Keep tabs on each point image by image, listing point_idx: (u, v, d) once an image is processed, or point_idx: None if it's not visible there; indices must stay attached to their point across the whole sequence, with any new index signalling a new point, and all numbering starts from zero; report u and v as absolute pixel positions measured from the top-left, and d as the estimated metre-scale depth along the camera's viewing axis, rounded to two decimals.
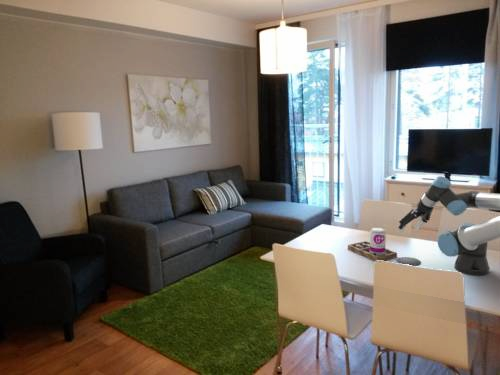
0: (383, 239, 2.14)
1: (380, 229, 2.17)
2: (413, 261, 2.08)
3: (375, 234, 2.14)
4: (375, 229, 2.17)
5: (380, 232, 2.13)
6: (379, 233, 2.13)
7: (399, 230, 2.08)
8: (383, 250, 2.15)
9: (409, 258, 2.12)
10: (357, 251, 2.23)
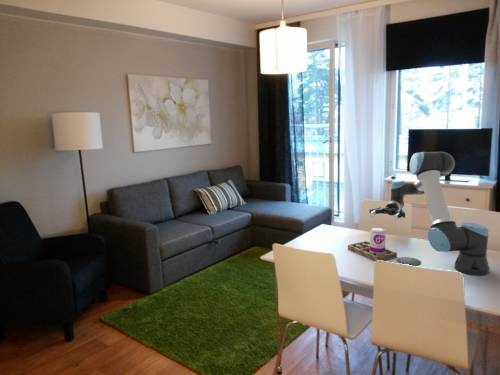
0: (383, 239, 2.14)
1: (380, 229, 2.17)
2: (413, 261, 2.08)
3: (375, 234, 2.14)
4: (375, 229, 2.17)
5: (380, 232, 2.13)
6: (379, 233, 2.13)
7: None
8: (383, 250, 2.15)
9: (409, 258, 2.12)
10: (357, 251, 2.23)
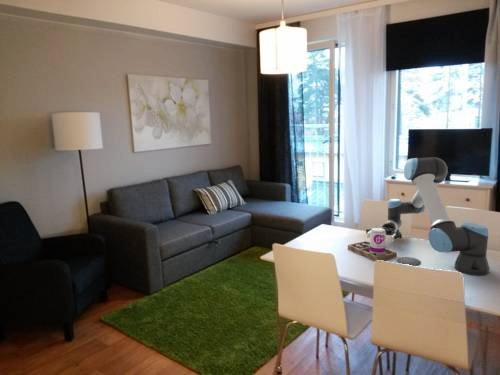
0: (383, 239, 2.14)
1: (380, 229, 2.17)
2: (413, 261, 2.08)
3: (375, 234, 2.14)
4: (375, 229, 2.17)
5: (380, 232, 2.13)
6: (379, 233, 2.13)
7: None
8: (383, 250, 2.15)
9: (409, 258, 2.12)
10: (357, 251, 2.23)
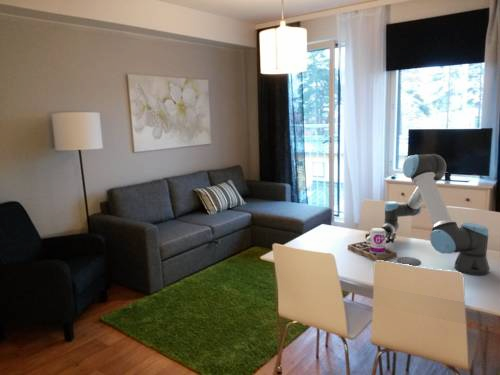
0: (383, 239, 2.14)
1: (380, 229, 2.17)
2: (413, 261, 2.08)
3: (375, 234, 2.14)
4: (375, 229, 2.17)
5: (380, 232, 2.13)
6: (379, 233, 2.13)
7: None
8: (383, 250, 2.15)
9: (409, 258, 2.12)
10: (357, 251, 2.23)
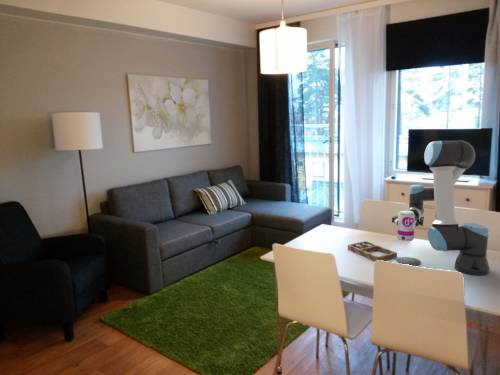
0: (412, 222, 2.03)
1: (408, 211, 2.06)
2: (413, 261, 2.08)
3: (404, 216, 2.02)
4: (403, 211, 2.06)
5: (409, 214, 2.02)
6: (408, 215, 2.02)
7: None
8: (412, 233, 2.04)
9: (409, 258, 2.12)
10: (357, 251, 2.23)
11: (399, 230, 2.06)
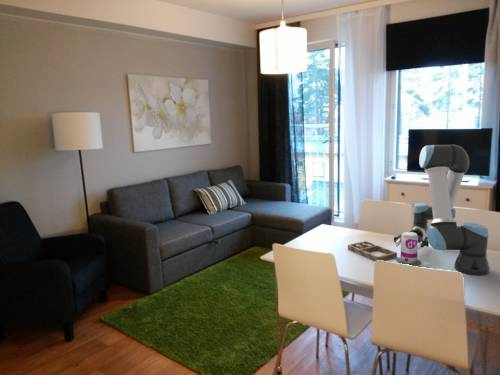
0: (415, 244, 2.03)
1: (412, 233, 2.06)
2: None
3: (407, 239, 2.03)
4: (406, 233, 2.06)
5: (412, 236, 2.02)
6: (411, 237, 2.02)
7: None
8: (415, 255, 2.04)
9: None
10: (357, 251, 2.23)
11: (402, 252, 2.06)
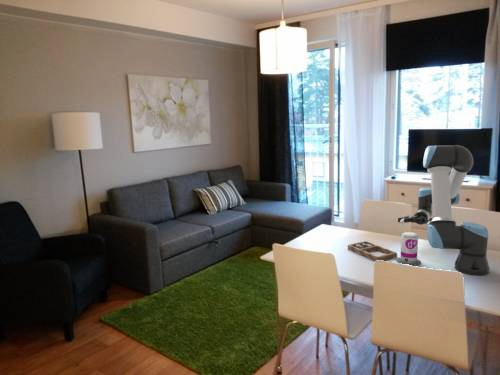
0: (415, 244, 2.03)
1: (412, 233, 2.06)
2: None
3: (407, 239, 2.03)
4: (406, 233, 2.06)
5: (412, 237, 2.02)
6: (411, 238, 2.02)
7: None
8: (415, 255, 2.04)
9: None
10: (357, 251, 2.23)
11: (402, 252, 2.06)
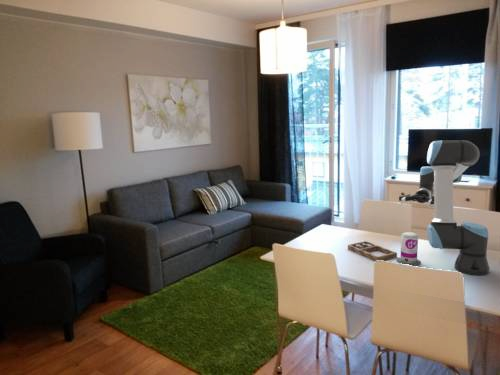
0: (415, 244, 2.03)
1: (412, 233, 2.06)
2: None
3: (407, 239, 2.03)
4: (407, 233, 2.06)
5: (412, 236, 2.02)
6: (411, 238, 2.02)
7: None
8: (415, 255, 2.04)
9: None
10: (357, 251, 2.23)
11: (402, 252, 2.06)
